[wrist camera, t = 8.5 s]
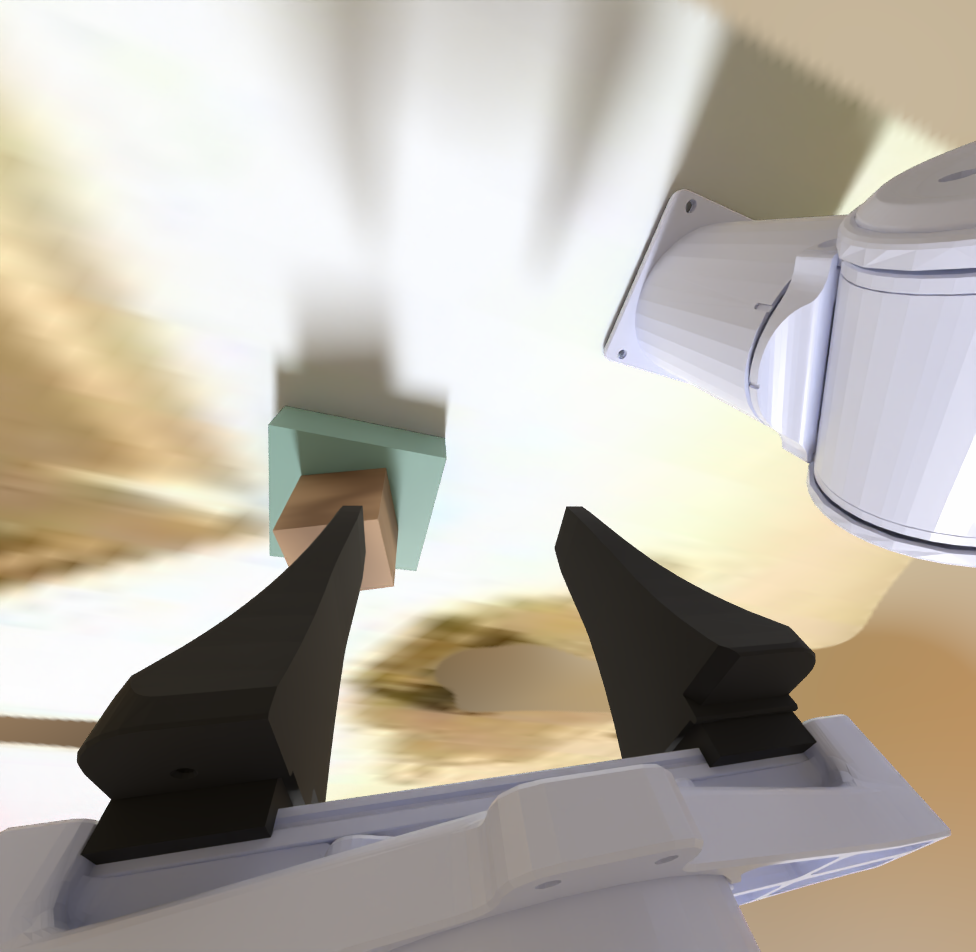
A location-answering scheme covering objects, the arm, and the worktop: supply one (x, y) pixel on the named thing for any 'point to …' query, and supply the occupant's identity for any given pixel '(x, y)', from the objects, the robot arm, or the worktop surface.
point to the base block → (357, 468)
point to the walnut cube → (322, 501)
